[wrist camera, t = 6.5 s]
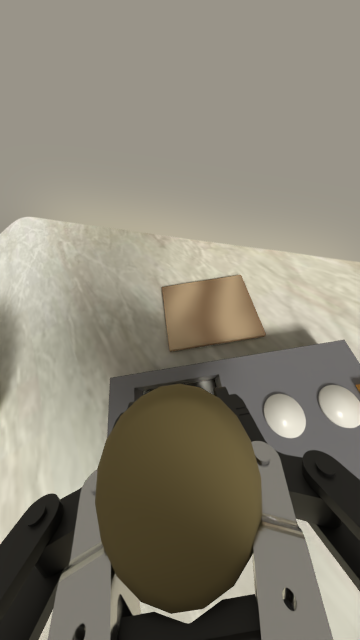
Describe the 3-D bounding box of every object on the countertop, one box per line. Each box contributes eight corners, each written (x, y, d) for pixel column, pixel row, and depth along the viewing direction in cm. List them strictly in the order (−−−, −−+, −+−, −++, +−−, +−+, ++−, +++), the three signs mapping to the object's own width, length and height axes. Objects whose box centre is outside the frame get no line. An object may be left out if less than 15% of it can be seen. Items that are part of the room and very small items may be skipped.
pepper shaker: (154, 391, 16) (90, 364, 6) (220, 392, 15) (270, 365, 5) (147, 477, 13) (0, 699, 3) (228, 482, 12) (358, 760, 3)
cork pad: (239, 277, 24) (240, 274, 23) (264, 336, 19) (266, 334, 19) (162, 289, 23) (161, 287, 23) (170, 351, 19) (169, 350, 19)
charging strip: (384, 339, 18) (424, 325, 15) (471, 452, 14) (555, 466, 11) (122, 382, 18) (107, 376, 15) (120, 513, 13) (97, 546, 10)
